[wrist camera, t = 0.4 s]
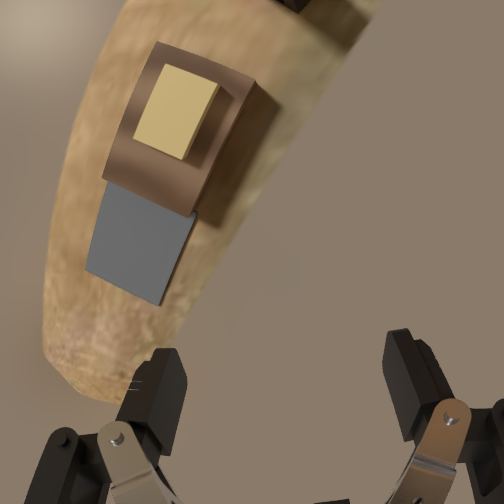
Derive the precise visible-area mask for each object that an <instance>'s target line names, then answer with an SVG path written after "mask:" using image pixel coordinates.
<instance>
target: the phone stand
mask: <svg viewBox="0 0 504 504" xmlns="http://www.w3.org/2000/svg"><path fill="white" fill-rule="evenodd" d="M276 1H278V2H280V3H281V4H283V5H285V6H286V7H288V8H289V9H291V10H293V11H294V12H296V13H298V14H299V13H300V11H301V10H302V9H303V8H304V7H305V6H306V5H307V4H308V3H309V2H310V0H276Z"/></svg>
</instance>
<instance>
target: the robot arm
mask: <svg viewBox="0 0 504 504" xmlns="http://www.w3.org/2000/svg"><path fill="white" fill-rule="evenodd" d="M382 364H383V365H382V366H383V373H384V377H385V380H386V383H387V386H388V389H389V392H390V395H391V398H392V402H393V405H394V408H395V412H396V415H397V418H398V421H399V425H400V428H401V432H402V436H403V439H404V442H407V441H411V440H414V443H415V449H414V451H413V453H412V455H411V457H410V459H409V461H408V463H407V465H406V467H405V468H404V470H403V472H402V474H401V476H400V478H399V479H398V482H397V483H396V485H395V487H394V488H393V490H392V492H391V493H390V495H389V496H388V498H387V500H386V501H385V503H384V504H444V502H445V500H446V497H447V495H448V493H449V491H450V488H451V486H452V484H453V481H454V479H455V476H456V470H455V466H456V463H466V466H467V470H468V474H469V478H470V482H471V486H472V490H473V495H474V499H475V504H504V399H501V400H499V401H497V402H496V403H495V405H494V406H493V408H491V409H490V408H488V409H472V408H469V407H468V405H466V403H464V402H463V401H461V400H458V399H456V398H455V397H454V395H453V393H452V390H451V389H450V386H449V384H448V382H447V380H446V378H445V376H444V374H443V372H442V370H441V368H440V367H439V364H438V361H437V360H436V359H435V356H434V354H433V352H432V350H431V348H430V347H429V346H428V345H427V344H426V343H425V342H424V341H422V340H421V339H419V340H414V339H413V337H412V335H411V333H410V331H409V330H408V329H407V328H405V329H399V330H393V331H388V333H387V337H386V343H385V349H384V355H383V361H382ZM186 390H187V376H186V373H185V370H184V368H183V366H182V363H181V360H180V357H179V355H178V352H177V350H176V349H175V348H156V349H155V351H154V353H153V355H152V358H151V360H150V361H144V362H143V363H142V364H141V365H140V366H139V367H138V369H137V370H136V372H135V374H134V376H133V379H132V382H131V383H130V386H129V390H128V391H127V393H126V395H125V398H124V400H123V403H122V405H121V408H120V410H119V413H118V415H117V418H116V420H115V421H114V422H110V423H108V424H106V425H105V426H104V427H103V428H102V429H101V430H100V432H99V433H96V434H87V435H78V434H77V433H76V432H75V431H74V430H73V429H71V428H68V427H63V428H59V429H57V430H55V431H54V432H53V433H52V434H51V436H50V437H49V439H48V442H47V444H46V446H45V449H44V451H43V454H42V456H41V459H40V461H39V464H38V466H37V469H36V471H35V474H34V477H33V479H32V482H31V485H30V488H29V490H28V494H27V496H26V499H25V502H24V504H105V503H106V499H107V495H108V491H109V487H110V483H113V485H114V487H112V488H111V493H112V496H113V498H114V501H115V503H116V504H183V503H182V501H181V500H180V498H179V497H178V495H177V494H176V492H175V490H174V489H173V487H172V485H171V484H170V482H169V480H168V479H167V477H166V475H165V474H164V472H163V470H162V468H161V466H160V465H159V463H158V462H159V458H160V455H164V456H170V455H171V451H172V446H173V442H174V438H175V434H176V430H177V426H178V422H179V418H180V414H181V410H182V406H183V402H184V398H185V394H186ZM315 504H350V502H349V499H344V500H338V501H329V502H321V503H315Z"/></svg>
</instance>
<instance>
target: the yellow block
mask: <svg viewBox="0 0 504 504" xmlns="http://www.w3.org/2000/svg"><path fill="white" fill-rule="evenodd" d="M220 86H221V85H219V84H217V83H215V82H212V81H210V80H207V79H205V78H202V77H200V76H197V75H195V74H192V73H190V72H187V71H184V70H182V69H179V68H176V67H174V66H171V65H168V64H165V65H164V67H163V70H162V72H161V74H160V76H159V78H158V80H157V82H156V84H155V87H154V89H153V91H152V93H151V96H150V98H149V100H148V102H147V105H146V107H145V109H144V112H143V114H142V117H141V119H140V121H139V124H138V126H137V129H136V131H135V134H134V137H133V139H135V140H138V141H140V142H142V143H145V144H147V145H149V146H151V147H154V148H156V149H158V150H161V151H163V152H165V153H167V154H170V155H172V156H174V157H176V158H178V159H181V160H182V159H184V158H186V157H187V155H188V153H189V150H190V148H191V146H192V144H193V142H194V139H195V137H196V135H197V133H198V131H199V129H200V126H201V124H202V122H203V120H204V118H205V116H206V114H207V112H208V110H209V108H210V106H211V104H212V102H213V100H214V98H215V96H216V94H217V92H218V90H219V88H220Z"/></svg>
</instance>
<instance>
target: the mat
mask: <svg viewBox="0 0 504 504" xmlns="http://www.w3.org/2000/svg"><path fill="white" fill-rule="evenodd" d="M196 215H197V212H195V211H193V212H192V214H191V215H190V216H189V218H186V217H184V216H181V215H179V214H177V213H175V212H173V211H171V210H169V209H167V208H164V207H162V206H160V205H158V204H156V203H154V202H152V201H149V200H147V199H145V198H143V197H141V196H139V195H137V194H135V193H132V192H130V191H128V190H126V189H124V188H122V187H120V186H118V185H115V184H113V183H111V182H109V181H108V183H107V186H106V189H105V193H104V196H103V199H102V203H101V206H100V210H99V213H98V217H97V221H96V225H95V229H94V232H93V237H92V241H91V245H90V249H89V253H88V258H87V263H86V267H85V270H86V271H88V272H90V273H92V274H94V275H96V276H98V277H100V278H101V279H103V280H105V281H107V282H109V283H111V284H113V285H115V286H117V287H119V288H121V289H123V290H125V291H127V292H129V293H131V294H133V295H135V296H137V297H139V298H141V299H143V300H145V301H148V302H150V303H152V304H154V305H156V306H158V305H159V303H160V300H161V298H162V295H163V293H164V290H165V288H166V286H167V283H168V281H169V278H170V276H171V273H172V271H173V269H174V266H175V264H176V261H177V259H178V257H179V254H180V252H181V250H182V247H183V245H184V243H185V240H186V238H187V236H188V233H189V231H190V229H191V227H192V224H193V222H194V220H195V218H196Z"/></svg>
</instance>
